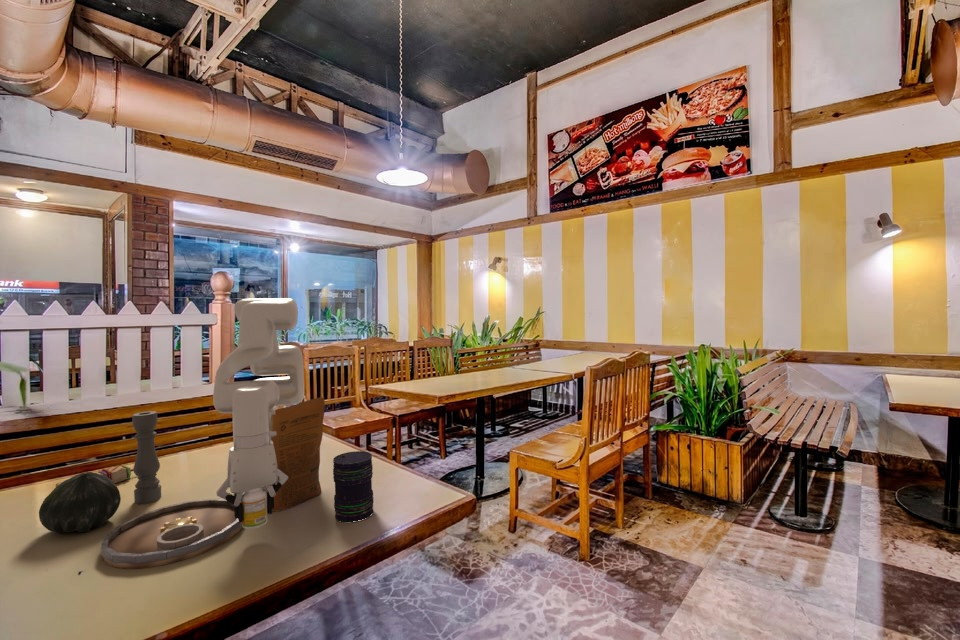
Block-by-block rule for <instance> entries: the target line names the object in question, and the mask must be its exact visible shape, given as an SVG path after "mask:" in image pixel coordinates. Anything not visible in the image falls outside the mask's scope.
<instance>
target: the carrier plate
mask: <svg viewBox="0 0 960 640" xmlns="http://www.w3.org/2000/svg"><path fill="white" fill-rule="evenodd" d="M187 517H192V519H197V524H196V523H195V524H184V525H180V526H177V527H174V528H171V529H169V530H166V531H164V532H162V533H161V534H160V528H161V527H164V524H165V523H166V522H172V521H174V520H176V519H177V518H180V519H183V518H187ZM236 519H237V518H236ZM236 519H235V514H234V509H233V508H230V507H227V506H203V507H194V508H187V509H183V510H179V511H174V512H170V513H166V514H163V515H160V516H157V517H154V518H152V519H149V520H146V521H143V522H141V523H139V524H137V525H135V526H133V527H131V528H129V529H128V530H126V531H124V532H122V533H121V534H120V535H118V536H117V537H116V538H115V539H114V540H113V541H112V542H111V543H109V548H111V549H112V550H114V551H116V552H118V553H133V554H142V553H149V552H156V551H163V550H169V549H173V548H176V547H180V546H183V545H187V544H190V543H194V542H197V541H199V540H201V539H204V538H206V537H208V536H211V535H213V534H215V533H218V532H220V531H221V530H223V529H224V528H226V527H227V526H229V525H230V524H231V523H233V522H234V521H236ZM242 529H243V526H242V524H241V526H240V527H239V528H237V529H236V530H235V531H233V532H232V533H230V534H229V535H228V536H226V537H225V538H223V539H221V540H219V541H217V542H215V543H212V544H210V545H208V546H206V547H204V548H201V549H199V550H197V551H193V552H190V553H186V554H183V555H180V556H176V557H173V558H169V559H165V560H158V561H151V562H144V563H137V564H133V563H117V562H111V561H110V560H108V559H107V558H105V557H103V556H102V560H103V559H104V560H103V562H104V561H105V562H106V563H107V564H106V563H105V562H104V563H105V564H106V565H108V564H109V565H108V566H110V565H111V566H110V567H112V566H113V568H116V567H117V569H123V570H126V569H127V570H129V569H130V570H131V569H132V570H135V569H149V568H154V567H155V568H156V567H160V566H161V567H162V566H165V565H169V564H174V563H177V562H181V561H185V560H187V559H191V558H194V557H196V556H199V555H201V554H205V553H206V552H208V551H211V550H213V549H214V548H217V547H219V546H220V545H223V544H225V543H226V542H228V541H229V540H231V539H232V538H233V537H235V536H236V535H237V534H238V533H239V532H240V531H241V530H242Z"/></svg>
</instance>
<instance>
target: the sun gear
mask: <svg viewBox="0 0 960 640" xmlns="http://www.w3.org/2000/svg"><path fill="white" fill-rule="evenodd" d="M195 523H196V524H197V519H192V517H187V518H183V519H180V518H177V519H176V520H174V521H172V522H166V523H165V524H164V527H161V528H160V534H161V533H162V532H164V531H166V530H169V529H171V528H174V527H177V526H180V525H184V524H195Z"/></svg>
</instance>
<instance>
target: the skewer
mask: <svg viewBox="0 0 960 640" xmlns="http://www.w3.org/2000/svg"><path fill="white" fill-rule="evenodd" d="M132 472H134V471H133V468H132V469H131V467H129V466H127V465H117V466H113V467H108V468H102V469H101V470H99V471H97V472H95V473H97V474H100V475H103V476H106V477H108V478H109V479H111V480H112V481H113V482H114V484H117V483H120V482H123V481H125V480H129V479H131V475H132ZM62 482H63V481H62ZM62 482H57V483H56V484H55V488H56V487H57V486H58V485H59V484H61V483H62Z"/></svg>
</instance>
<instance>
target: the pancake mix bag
mask: <svg viewBox="0 0 960 640" xmlns="http://www.w3.org/2000/svg"><path fill="white" fill-rule="evenodd" d="M325 403H326V402H325V398H324V397H322V396H320V397H316V398H312V399H308V400H305V401H301V402H300V403H298V404H292V405H290V406H289V405H288V406H285V407H281V408H277V409H275V414H273V415H272V416H271V422H270V430H271V431H276V434H277V435H276V436H275V437H273V438H271V441H272V442H273V445H274V448H275V453H276V460H277V468H279V469H280V470H281V471H282V472H284V473H285V474H286V475H287V476H288V479H287V480H286V482H285V483H284V484H282V486H281V488H280V489H279V490H278V491H277V492H276V495H275V496H274V508H273V509H272V512H277V511H276V510H282V511H284V510H283V509H286V510H288V509H287V508H289V509H291V508H293V507H295V506H297V505H299V504H302V503H304V502H306V501H308V500H310V498H311V499H313V498H315V496H316V497H318V496H320V494H321V493H322V487H321V482H320V473H319V471H320V464H321V444H322V441H323V436H324V435H323V434H324V417H325V408H326V406H325ZM279 478H280V477H279V476H278V480H279ZM273 485H274V484H273ZM273 485H272V486H273ZM320 492H321V493H320ZM317 495H318V496H317ZM292 506H293V507H292ZM290 507H291V508H290Z"/></svg>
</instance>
